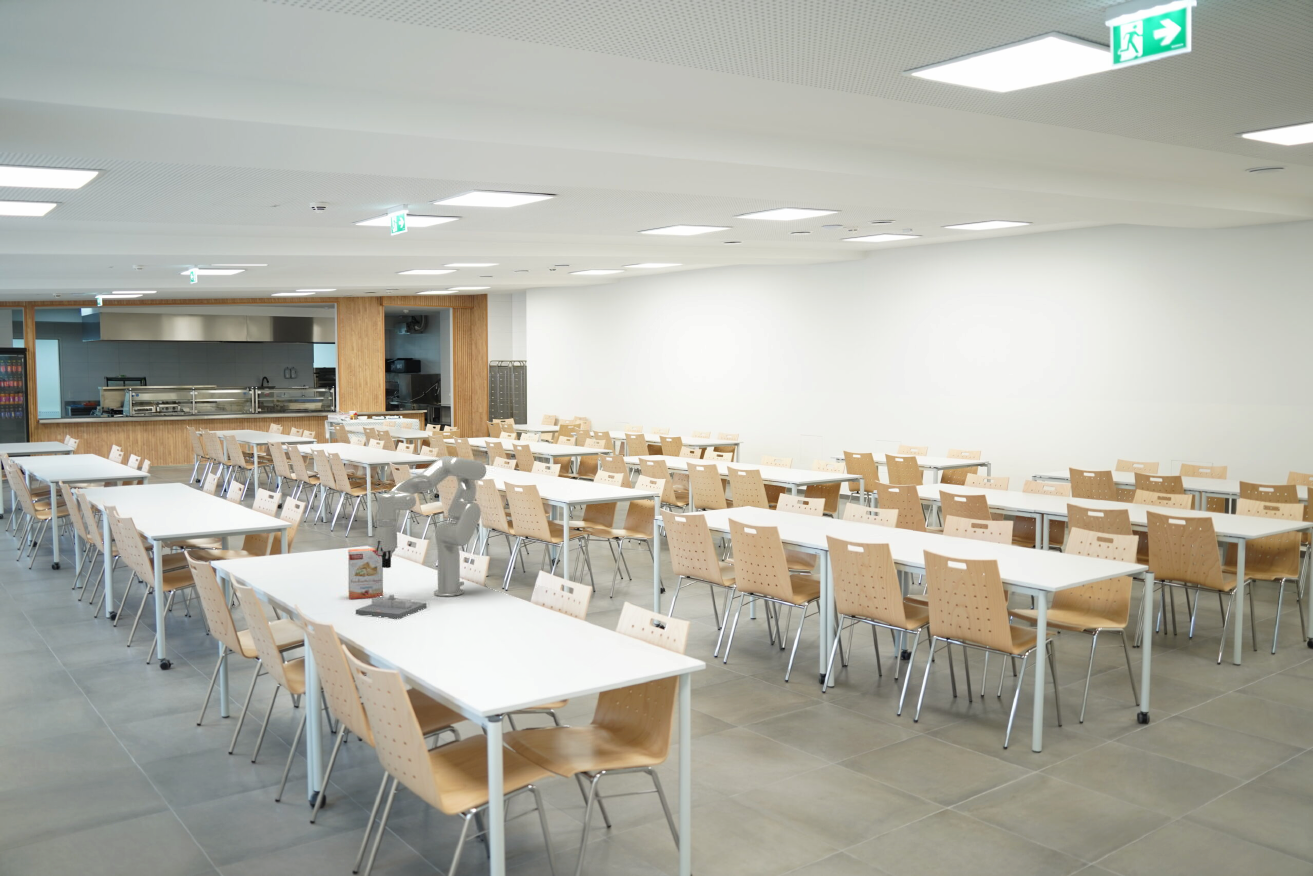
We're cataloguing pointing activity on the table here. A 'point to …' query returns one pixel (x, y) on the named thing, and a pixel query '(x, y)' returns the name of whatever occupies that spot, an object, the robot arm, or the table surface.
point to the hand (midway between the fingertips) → (386, 567)
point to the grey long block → (391, 602)
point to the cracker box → (365, 573)
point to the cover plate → (390, 610)
